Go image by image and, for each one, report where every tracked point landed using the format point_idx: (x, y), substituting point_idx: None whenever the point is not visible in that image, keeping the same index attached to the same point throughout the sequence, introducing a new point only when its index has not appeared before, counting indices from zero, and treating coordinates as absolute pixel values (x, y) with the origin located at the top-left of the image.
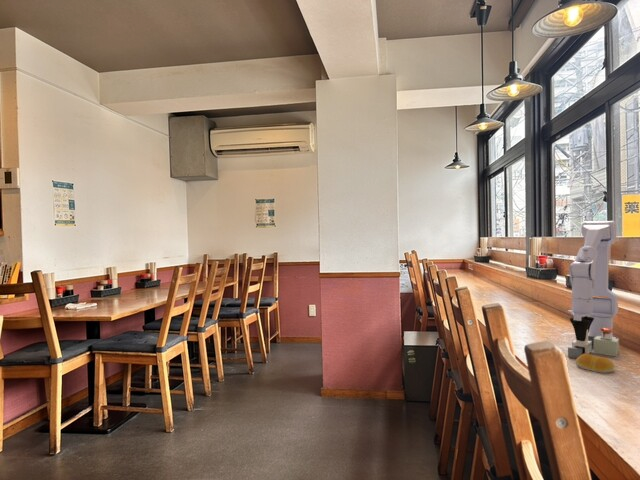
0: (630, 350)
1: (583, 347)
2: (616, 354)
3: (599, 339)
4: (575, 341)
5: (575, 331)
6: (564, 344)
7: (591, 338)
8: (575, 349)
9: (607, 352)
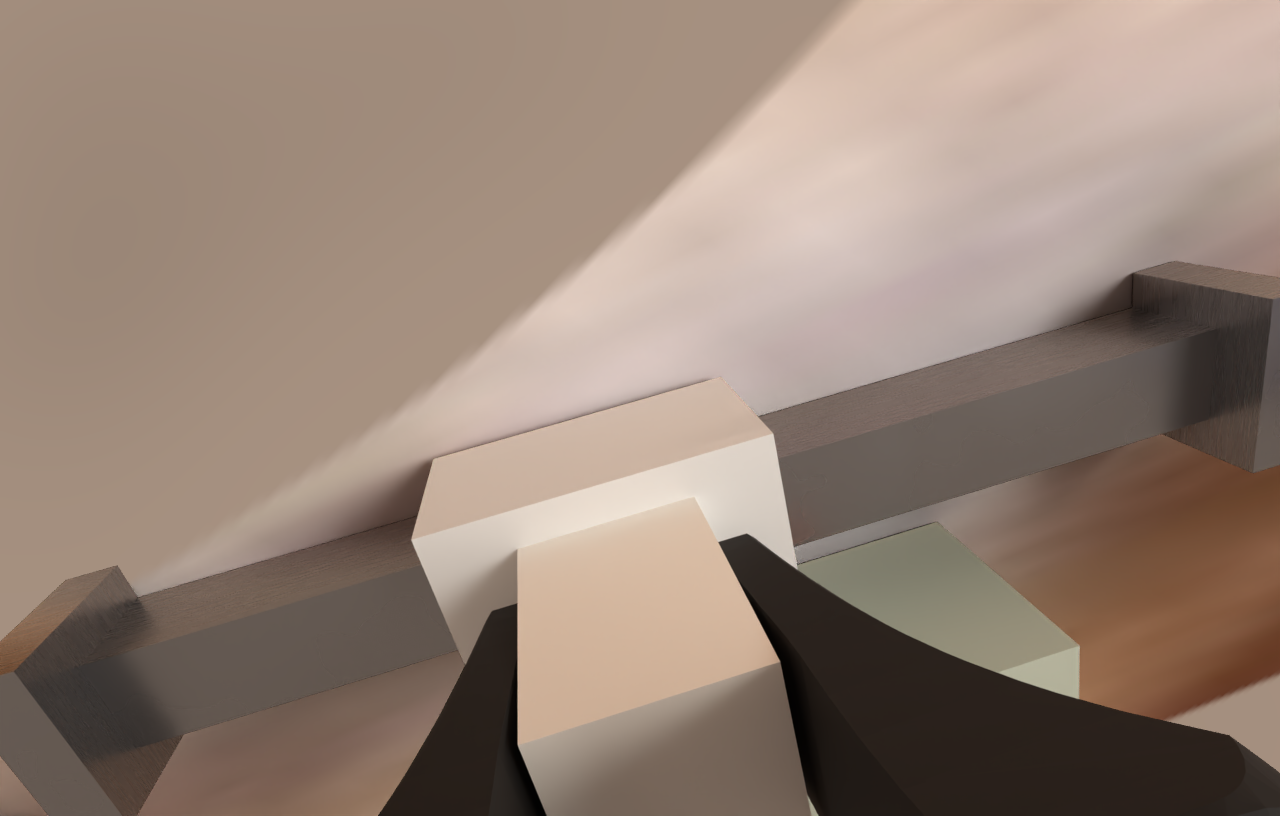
0: (1153, 701)
1: None
2: None
3: None
4: (539, 537)
5: (424, 760)
6: (875, 108)
7: (1225, 409)
8: (26, 773)
9: None
